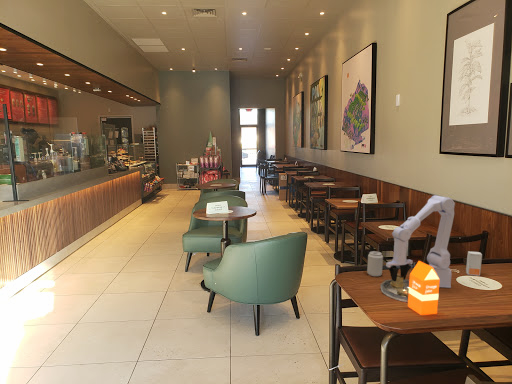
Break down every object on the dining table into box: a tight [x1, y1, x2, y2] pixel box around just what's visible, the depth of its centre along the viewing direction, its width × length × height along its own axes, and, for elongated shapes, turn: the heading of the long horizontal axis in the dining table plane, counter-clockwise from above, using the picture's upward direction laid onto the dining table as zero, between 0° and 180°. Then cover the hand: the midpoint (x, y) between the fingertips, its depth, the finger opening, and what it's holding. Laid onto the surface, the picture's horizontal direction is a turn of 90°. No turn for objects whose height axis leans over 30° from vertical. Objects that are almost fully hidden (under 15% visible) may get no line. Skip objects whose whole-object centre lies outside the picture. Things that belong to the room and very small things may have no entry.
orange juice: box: [407, 260, 440, 316], centre depth 157 cm, size 8×9×20 cm
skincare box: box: [465, 251, 483, 277], centre depth 202 cm, size 6×4×12 cm
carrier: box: [380, 278, 410, 303], centre depth 176 cm, size 24×24×4 cm
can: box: [366, 250, 384, 277], centre depth 199 cm, size 8×8×12 cm
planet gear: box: [390, 273, 405, 288], centre depth 182 cm, size 6×6×5 cm
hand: (398, 279), depth 181 cm, fingers closed on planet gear, 5 cm apart
